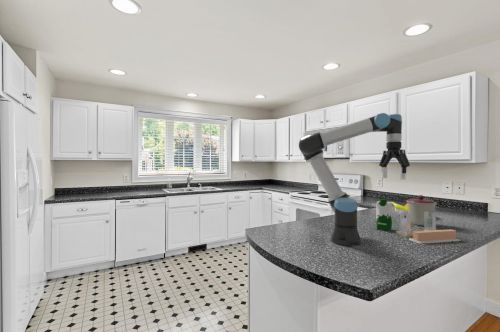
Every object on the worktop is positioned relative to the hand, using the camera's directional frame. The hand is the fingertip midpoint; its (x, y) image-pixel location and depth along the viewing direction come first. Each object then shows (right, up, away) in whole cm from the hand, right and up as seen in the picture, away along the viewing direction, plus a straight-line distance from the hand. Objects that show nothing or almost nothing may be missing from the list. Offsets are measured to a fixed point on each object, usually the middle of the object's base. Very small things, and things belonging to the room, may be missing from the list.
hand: (393, 178), depth 145 cm
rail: (+22, -34, -3) cm, 40 cm away
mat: (+22, -35, -3) cm, 41 cm away
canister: (+41, -35, +37) cm, 65 cm away
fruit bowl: (+54, -35, +68) cm, 94 cm away
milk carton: (+6, -35, +22) cm, 41 cm away
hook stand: (+21, -35, +10) cm, 42 cm away
